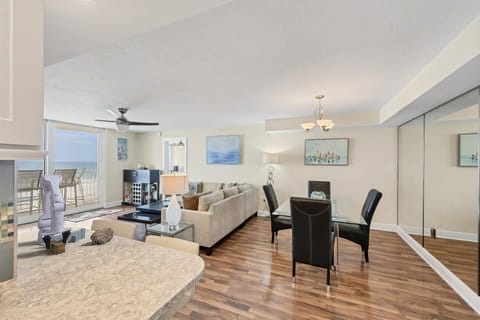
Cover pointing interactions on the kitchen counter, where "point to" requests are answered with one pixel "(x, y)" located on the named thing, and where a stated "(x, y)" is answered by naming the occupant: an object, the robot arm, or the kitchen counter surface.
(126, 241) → the kitchen counter surface
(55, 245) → the brown block
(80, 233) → the blue-grey stepped platform
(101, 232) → the coral
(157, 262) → the kitchen counter surface
